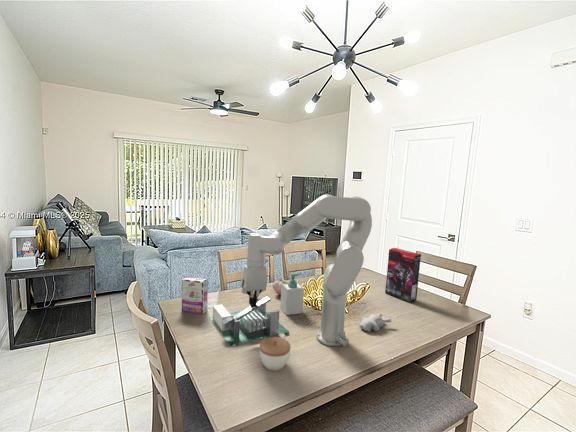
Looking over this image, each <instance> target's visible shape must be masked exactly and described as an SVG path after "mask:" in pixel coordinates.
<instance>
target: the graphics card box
mask: <svg viewBox="0 0 576 432" xmlns="http://www.w3.org/2000/svg"><path fill="white" fill-rule="evenodd" d="M421 257H422V254H421V253H417V252H412V251H409V250H405V249H402V248H397V247H393V248H390V249H388V259H387V269H386V280H385V288H384V289H385V291H384V293H385V294H387V295H390V296H392V297H395V298H397V299H401V300H402V301H405V302H408V303H412V302H416V301H417V298H418V288H419V276H420V265H421Z"/></svg>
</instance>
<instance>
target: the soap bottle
mask: <svg viewBox="0 0 576 432" xmlns="http://www.w3.org/2000/svg"><path fill="white" fill-rule="evenodd" d="M288 274H289V275H290V277H291V279H290V280H289V282H288V283H282V285H281V295H280V306H279V308H280V309H281V310H282V312H283V313H284V314H285V315H286V316H289V315H296V314H297V315H298V314H303V313H304V312H303V309H304V293H305V287H303V286H302V285H301V284H300V283H298V282H297V280H296V279H295V278H296V277H297V276H300V275H302V272H294V273H293V272H292V273H288Z"/></svg>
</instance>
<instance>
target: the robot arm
mask: <svg viewBox="0 0 576 432" xmlns="http://www.w3.org/2000/svg"><path fill="white" fill-rule="evenodd" d="M371 212H372V207H371V204H370V203H369V201H368V200H366V199H365V198H363V197H361V196H351V197H349V196H348V197H347V196H337V195H336V196H335V195H332V194H330V193H329V194H327V193H324V194H323V195H321V196H319V197H318V198H316V199H315V200H314V201H313V202H311V203H310V204H309V205H308V206H306V207H305V208H304V209H302V210H301V211H299V212H298V213H297V214H295V215H294V216H293V217H292V218H291V219H289V220H288V221H287V222H286V223H284V224H283V225H282V226H280V227H279V228H278V229H276V230H275V231H274V232H273V233H271V234H270V236H267V234H266V233H263V232H251V233H249V235H248V240H247V252H246V255H247V256H246V264H245V265H244V266H243V271H242V274H241V275H242V276H241V281H240V287H241V288H242V289H241V293H242V294H244V295H246V294H247V295H248V297H249V298H248V304H249V305H250V306H252V307H254V306H256V303H257V299H259V298H260V297H259V296H260V294H262V293H264V292H265V291H266V290H267V285H268V275H267V274H268V271H267V270H268V269H267V265H266V263H268V262H269V260H268V259H267V258H266V256H267V255H266V254H269V255H273V256H276V255H281V254H282V253H283V251H284V249H285V247H286V246H287V245H288V244H289V243H291V242H292V241H293V240H294V239H296V238H298V237H300V236H302V235H304V234H307V233H309V232H311V231H312V230H313V229H315V228H316V227H318V226H319V225H320V224H322V222H324V221H325V220H327V219H330V220H331V219H332V220H339V221H349V225H348V227H347V230H346V232H345V234H344V236H343V238H342V240H341V242H340V244H339V245H338V246H337V249H336V260H335V262H334V263H330V264H329V265H327V267H326V268H325V269H324V272H323V280H322V281H323V285H322V287H323V288H322V289H323V291H322V303H321V318H320V329H319V330H318V331H317V332H316V336H315V337H316V339H317V341H318V342H320V343H321V344H323V345H325V346H329V347H330V346H331V347H340V346H344V347H345V346H346V345H347V343H348V342H349V340H350V339H349V338H348V336H347V335H346V331H345V318H346V307H347V306H346V305H347V294H348V292H349V291H350V289H351V288H352V287H353V285H354V282H355V281H356V279H357V278H358V275H359V273H360V271H362V270H361V269H362V268H363V265H364V259H365V258H364V253H363V250H364V247H365V245H366V243H367V241H368V238H369V236H370V234H371V231H372V228H373V227H372V226H373V223H372V222H373V219H372V214H371ZM258 297H259V298H258Z"/></svg>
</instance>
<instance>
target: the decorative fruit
mask: <svg viewBox="0 0 576 432" xmlns="http://www.w3.org/2000/svg"><path fill="white" fill-rule="evenodd" d="M282 283H289V282H288V281H287V280H285V279H283V278H282V277H281V278H276V279H275V280H274V282H273V284H272V289H273V291H274V292H275V293H276V294H277V295H279V296H281V285H282Z"/></svg>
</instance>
